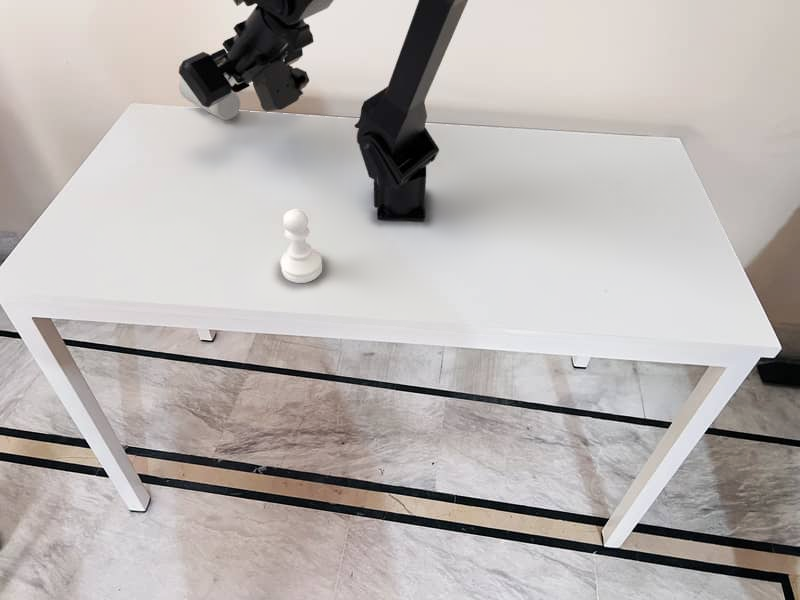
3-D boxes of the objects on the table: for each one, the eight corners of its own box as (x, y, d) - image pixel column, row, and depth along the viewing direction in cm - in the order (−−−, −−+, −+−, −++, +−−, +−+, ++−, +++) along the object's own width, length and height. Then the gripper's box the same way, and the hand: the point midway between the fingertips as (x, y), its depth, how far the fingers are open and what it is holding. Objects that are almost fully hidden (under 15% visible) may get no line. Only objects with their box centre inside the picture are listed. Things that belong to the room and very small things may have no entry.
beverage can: (215, 122, 96) (178, 101, 102) (242, 120, 99) (204, 99, 106) (215, 90, 93) (177, 71, 100) (242, 89, 96) (204, 70, 103)
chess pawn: (329, 273, 75) (324, 216, 68) (293, 289, 73) (283, 232, 66) (311, 250, 77) (304, 193, 71) (275, 265, 76) (264, 207, 69)
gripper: (251, 116, 77) (210, 159, 89) (346, 62, 87) (297, 108, 99) (195, 37, 74) (160, 93, 86) (300, -9, 84) (256, 47, 97)
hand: (223, 86), depth 92 cm, fingers closed
